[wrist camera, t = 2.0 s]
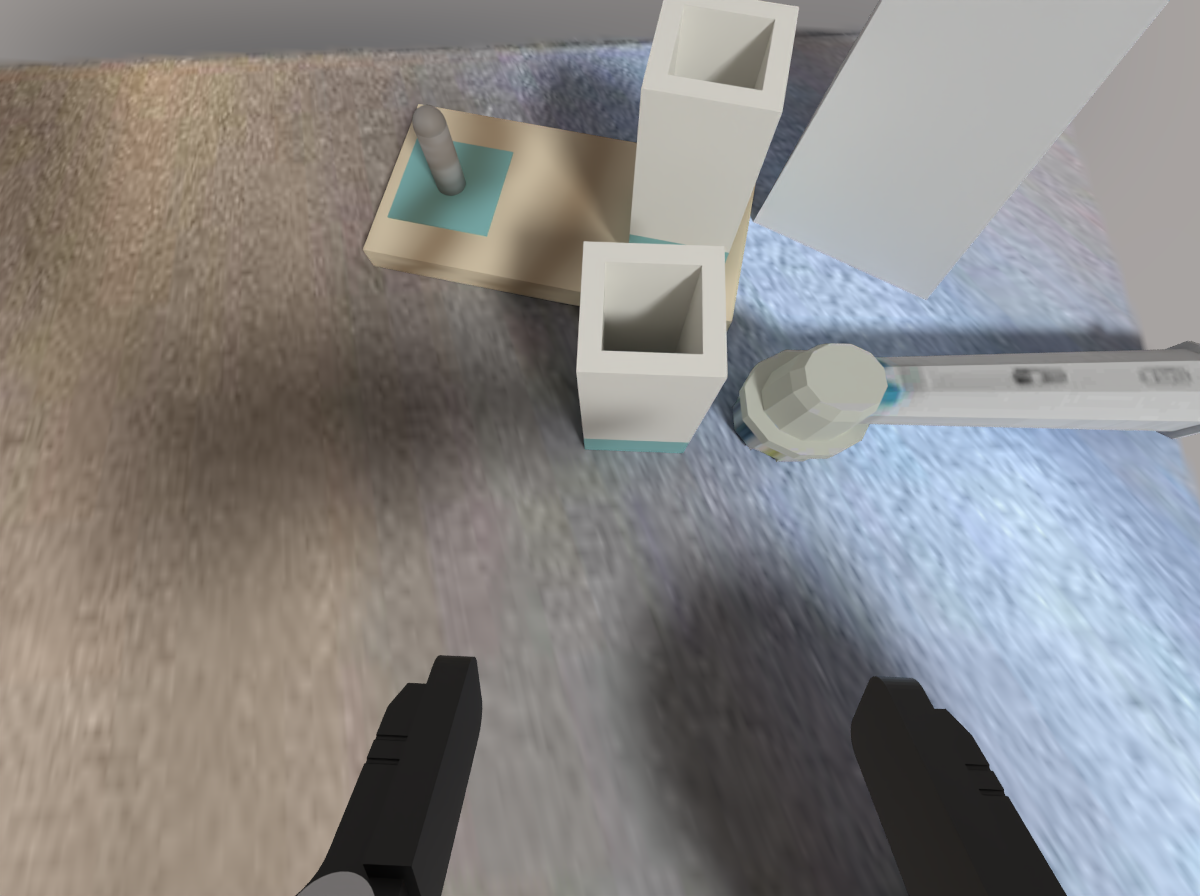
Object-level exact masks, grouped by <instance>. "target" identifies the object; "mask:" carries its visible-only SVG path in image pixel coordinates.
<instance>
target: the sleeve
mask: <svg viewBox="0 0 1200 896" xmlns="http://www.w3.org/2000/svg"><path fill="white" fill-rule="evenodd" d="M576 374H577V383H578V392H579V400H580V409H581V418H582V427H583V436H584V445H585V449H588V450H614V451H639V452H665V453H683V452H684V450H685V449H686V447H687V445H688V443H689V442H690V440H691V438H692V437H693V435H694V433H695V432H696V430H697V428H698V427H699V425H700V423H701V421H702V420H703V418H704V416H705V415H706V413H707V411H708V410H709V408H710V406H711V405H712V403H713V401H714V399H715V398H716V396H717V394H718V393H719V391H720V389H721V388H722V386H723V384H724V383H725V381H726V379H727V335H726V290H725V246H703V245H674V244H645V243H616V242H587V241H584V244H583V262H582V280H581V298H580V315H579V333H578V351H577V368H576Z"/></svg>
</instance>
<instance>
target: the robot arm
mask: <svg viewBox="0 0 1200 896" xmlns="http://www.w3.org/2000/svg"><path fill="white" fill-rule="evenodd" d="M481 719H482V697H481V690H480V682H479V674H478V667H477V660H476V658H475V657H466V656H444V655H439V656H438V657H437V658H436V660H435V662H434V664H433V667H432V670H431V672H430V675H429V678H428V681H427V684H420V683H407V685H406V686H405V687H404V688H403V689H402V690H401V692H400V693H399V694H398V695H397V696H396V697H395V699H394V700H393V701H392V702H391V703H390V704H389V706H388V707H387V710H386V712H385V714H384V717H383V719H382V722H381V724H380V727H379V729H378V732H377V734H376V739H375V740H374V741H373V744H372V746H371V749H370V751H369V754H368V756H367V761H366V764H365V763H364V766H363V768H362V771H361V773H360V776H359V778H358V780H357V783H356V785H355V788H354V790H353V793H352V795H351V798H350V800H349V802H348V805H347V807H346V810H345V812H344V815H343V817H342V820H341V822H340V824H339V827H338V829H337V832H336V834H335V837H334V839H333V842H332V844H331V846H330V849H329V851H328V854H327V856H326V858H325V860H324V862H323V863H322V865H321V867H320V868H319V870H318V872H317V873H316V874H315V876H314V877H313V878H312V879H311V881H310V882H309V883H308V884H307V885H306V886H305V887H304V888H303V889H302V890H301V891H300V892H299V893H298V894H297V895H296V896H441V894H442V890H443V885H444V881H445V877H446V873H447V868H448V864H449V860H450V856H451V851H452V847H453V843H454V839H455V835H456V830H457V826H458V822H459V818H460V813H461V809H462V805H463V801H464V796H465V792H466V788H467V784H468V779H469V775H470V771H471V767H472V763H473V758H474V754H475V750H476V746H477V741H478V737H479V732H480V727H481ZM851 739H852V745H853V750H854V753H855V756H856V759H857V761H858V764H859V766H860V769H861V772H862V774H863V777H864V779H865V782H866V785H867V787H868V790H869V792H870V795H871V798H872V800H873V803H874V805H875V808H876V811H877V813H878V816H879V819H880V821H881V824H882V826H883V829H884V832H885V834H886V837H887V839H888V842H889V845H890V847H891V850H892V852H893V855H894V858H895V860H896V863H897V866H898V868H899V871H900V873H901V876H902V879H903V881H904V884H905V886H906V889H907V892H908V894H909V896H1067V895H1066V893H1065V892H1064V890H1063V888H1062V887H1061V885H1060V883H1059V882H1058V880H1057V878H1056V877H1055V875H1054V873H1053V871H1052V870H1051V868H1050V866H1049V865H1048V863H1047V861H1046V860H1045V858H1044V856H1043V855H1042V853H1041V851H1040V850H1039V848H1038V846H1037V844H1036V843H1035V841H1034V839H1033V838H1032V836H1031V834H1030V833H1029V831H1028V829H1027V828H1026V826H1025V824H1024V823H1023V821H1022V819H1021V817H1020V816H1019V814H1018V812H1017V811H1016V809H1015V807H1014V806H1013V804H1012V802H1011V801H1010V799H1009V797H1008V796H1005V794H1004V789H1003V787H1002V785H1001V784H1000V782H999V780H998V779H997V777H996V775H995V774H994V772H993V771H991V770H990V768H989V763H988V762H987V760H986V758H985V757H984V755H983V753H982V752H981V750H980V748H979V746H978V745H977V743H976V741H975V740H974V738H973V736H972V735H971V734H970V733H969V732H968V731H967V730H966V729H965V728H964V727H963V726H962V725H961V724H960V723H959V722H958V721H957V720H956V719H955V718H954V717H953V716H952V715H951V714H950V713H949V712H948V711H947V710H946V709H934V707H933V706H932V704H931V702H930V700H929V698H928V697H927V695H926V693H925V691H924V689H923V688H922V686H921V685H920V684H919V682H917V681H916V680H915V679H913V678H899V677H877V676H875V677H872V678H871V679H870V680H869V682H868V685H867V687H866V689H865V692H864V694H863V696H862V699H861V701H860V703H859V706H858V708H857V710H856V713H855V715H854V717H853V720H852V724H851Z"/></svg>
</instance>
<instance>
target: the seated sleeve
mask: <svg viewBox="0 0 1200 896" xmlns="http://www.w3.org/2000/svg"><path fill="white" fill-rule="evenodd" d="M798 12H799V7H798V6H791V5H785V4H779V3H772V2H766V1H760V0H663V4H662V8H661V12H660V16H659V20H658V24H657V28H656V32H655V36H654V40H653V44H652V48H651V52H650V56H649V60H648V64H647V68H646V72H645V76H644V80H643V84H642V88H641V99H640V111H639V124H638V136H637V148H636V161H635V173H634V186H633V198H632V211H631V223H630V236H629V243H645V244H674V245H703V246H725V262H726V260H727V257H728V254H729V252H730V249H731V247H732V244H733V241H734V239H735V236H736V233H737V231H738V228H739V225H740V223H741V220H742V217H743V215H744V212H745V210H746V207H747V204H748V202H749V199H750V196H751V194H752V191H753V188H754V186H755V183H756V180H757V178H758V175H759V172H760V170H761V167H762V165H763V162H764V159H765V157H766V154H767V151H768V149H769V146H770V143H771V141H772V138H773V135H774V133H775V130H776V128H777V125H778V122H779V120H780V117H781V114H782V111H783V105H784V99H785V92H786V86H787V80H788V74H789V68H790V62H791V56H792V49H793V43H794V37H795V31H796V25H797V19H798Z"/></svg>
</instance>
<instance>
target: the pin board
mask: <svg viewBox="0 0 1200 896" xmlns="http://www.w3.org/2000/svg"><path fill="white" fill-rule="evenodd" d="M636 148H637V143H635V142H629V141H624V140H618V139H612V138H607V137H601V136H595V135H590V134H584V133H578V132H573V131H567V130H561V129H556V128H550V127H545V126H539V125H533V124H528V123H522V122H516V121H511V120H505V119H499V118H494V117H488V116H482V115H477V114H471V113H465V112H460V111H454V110H448V109H443V108H437V107H434V106H431V105H420V104H419V105H418V107H417V109H416V111H415V112H414V114H413V118H412V123H411V125H410V128H409V131H408V133H407V136H406V138H405V141H404V144H403V146H402V149H401V151H400V154H399V157H398V159H397V162H396V165H395V167H394V170H393V172H392V175H391V178H390V180H389V183H388V185H387V188H386V191H385V193H384V196H383V198H382V201H381V204H380V206H379V209H378V211H377V214H376V217H375V219H374V222H373V224H372V227H371V230H370V232H369V235H368V238H367V240H366V243H365V245H364V248H363V251H364V252H365V253H366V255H367V256H368V258H369V259H370V261H371V262H372V264H373V265H374V266H376V267H381V268H387V269H392V270H397V271H402V272H407V273H412V274H417V275H422V276H427V277H433V278H438V279H443V280H448V281H453V282H458V283H463V284H468V285H473V286H478V287H484V288H489V289H494V290H499V291H504V292H509V293H514V294H519V295H524V296H530V297H535V298H540V299H545V300H550V301H555V302H560V303H565V304H570V305H575V306H580V298H581V280H582V262H583V244H584V241H587V242H616V243H629V236H630V223H631V211H632V198H633V186H634V173H635V161H636ZM755 184H756V183H755ZM754 190H755V186H754V188H753V191H752V194H751V196H750V199H749V202H748V204H747V207H746V210H745V212H744V215H743V217H742V220H741V223H740V225H739V228H738V231H737V233H736V236H735V239H734V241H733V244H732V247H731V249H730V252H729V254H728V257H727V260H726V262H725V290H726V333H727V331H728V329H729V326H730V324H731V322H732V318H733V312H734V307H735V301H736V295H737V289H738V283H739V277H740V271H741V266H742V260H743V254H744V248H745V242H746V236H747V231H748V225H749V219H750V213H751V207H752V201H753V196H754Z"/></svg>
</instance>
